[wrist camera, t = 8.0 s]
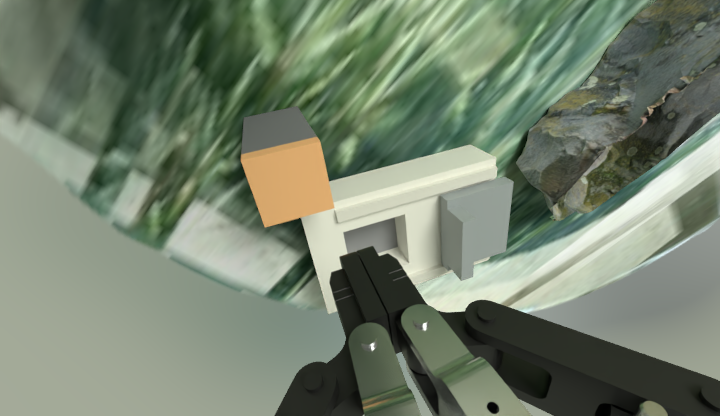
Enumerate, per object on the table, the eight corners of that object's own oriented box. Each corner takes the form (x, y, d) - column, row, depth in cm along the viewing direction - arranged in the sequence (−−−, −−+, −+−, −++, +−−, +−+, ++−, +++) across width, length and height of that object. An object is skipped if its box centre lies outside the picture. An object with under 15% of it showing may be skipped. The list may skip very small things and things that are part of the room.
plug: (243, 117, 25) (240, 160, 16) (297, 106, 26) (320, 141, 17) (260, 167, 27) (265, 227, 18) (308, 155, 28) (334, 208, 19)
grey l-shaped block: (440, 195, 28) (463, 214, 25) (504, 176, 30) (533, 192, 26) (441, 263, 32) (461, 287, 29) (497, 244, 34) (522, 265, 31)
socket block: (293, 190, 29) (299, 214, 25) (470, 144, 32) (499, 159, 28) (320, 287, 35) (329, 318, 31) (467, 240, 38) (490, 262, 34)
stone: (508, 181, 43) (756, 13, 35) (559, 237, 37) (881, 48, 28) (463, 99, 31) (825, -189, 23) (526, 161, 25) (1071, -210, 16)
